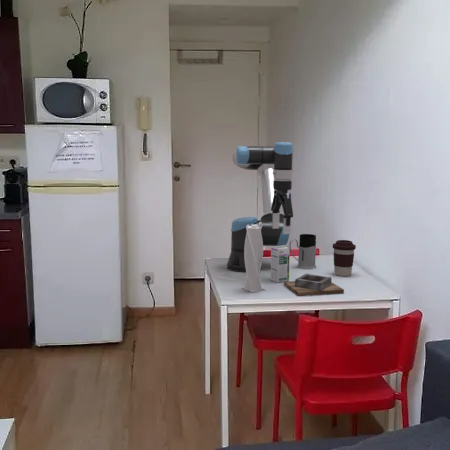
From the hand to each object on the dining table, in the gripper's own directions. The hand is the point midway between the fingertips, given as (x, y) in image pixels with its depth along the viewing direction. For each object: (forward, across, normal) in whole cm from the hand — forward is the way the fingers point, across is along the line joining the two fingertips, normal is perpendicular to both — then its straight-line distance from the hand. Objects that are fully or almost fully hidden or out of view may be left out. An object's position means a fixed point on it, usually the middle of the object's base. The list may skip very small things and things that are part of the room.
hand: (281, 231), depth 238 cm
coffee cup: (+21, -4, +31) cm, 38 cm away
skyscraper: (+22, +12, -15) cm, 29 cm away
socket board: (+21, +16, +8) cm, 28 cm away
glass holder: (+21, -20, +18) cm, 34 cm away
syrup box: (+21, 0, 0) cm, 21 cm away
